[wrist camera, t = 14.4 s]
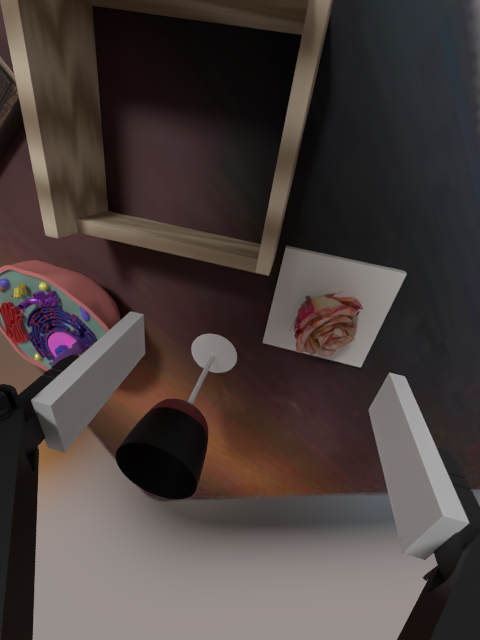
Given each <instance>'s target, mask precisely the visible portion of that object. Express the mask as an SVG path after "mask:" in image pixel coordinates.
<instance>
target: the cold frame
mask: <svg viewBox="0 0 480 640" xmlns="http://www.w3.org/2000/svg"><path fill="white" fill-rule="evenodd" d="M0 2H1V7H2V12H3V18H4V23H5V28H6V33H7V38H8V43H9V49H10V54H11V59H12V64H13V69H14V74H15V80H16V85H17V90H18V95H19V100H20V105H21V111H22V116H23V121H24V126H25V131H26V136H27V142H28V147H29V152H30V157H31V162H32V167H33V173H34V178H35V183H36V188H37V193H38V199H39V204H40V209H41V214H42V219H43V224H44V230H45V235H46V236H50V237H54V238H62V237H65V236H68V235H71V234H75V233H83V234H87V235H91V236H96V237H100V238H105V239H109V240H113V241H118V242H122V243H127V244H131V245H135V246H140V247H144V248H149V249H153V250H157V251H162V252H166V253H171V254H175V255H179V256H184V257H188V258H193V259H197V260H201V261H206V262H210V263H215V264H219V265H223V266H228V267H232V268H236V269H241V270H245V271H250V272H254V273H258V274H263V275H267V276H269V274H270V271H271V268H272V265H273V262H274V259H275V255H276V251H277V246H278V242H279V238H280V233H281V229H282V224H283V220H284V216H285V211H286V207H287V202H288V198H289V194H290V189H291V185H292V181H293V176H294V172H295V167H296V163H297V159H298V154H299V150H300V145H301V141H302V137H303V132H304V128H305V124H306V119H307V115H308V110H309V106H310V102H311V97H312V93H313V88H314V84H315V80H316V75H317V71H318V66H319V62H320V58H321V53H322V49H323V45H324V40H325V36H326V31H327V27H328V23H329V18H330V13H331V7H332V0H0ZM92 6H98V7H105V8H112V9H120V10H127V11H134V12H141V13H148V14H155V15H163V16H170V17H177V18H184V19H191V20H198V21H206V22H213V23H220V24H227V25H234V26H241V27H249V28H256V29H263V30H270V31H277V32H284V33H292V34H299V35H302V38H301V43H300V48H299V53H298V58H297V63H296V68H295V73H294V78H293V84H292V89H291V94H290V99H289V104H288V109H287V114H286V119H285V124H284V129H283V134H282V139H281V145H280V150H279V155H278V160H277V165H276V170H275V175H274V180H273V185H272V190H271V195H270V201H269V206H268V211H267V216H266V221H265V226H264V231H263V236H262V241H261V244H258V243H253V242H249V241H244V240H239V239H235V238H230V237H225V236H221V235H216V234H212V233H207V232H202V231H198V230H193V229H189V228H184V227H179V226H175V225H170V224H165V223H161V222H156V221H152V220H147V219H142V218H138V217H133V216H129V215H124V214H119V213H115V212H110V211H108V201H107V188H106V175H105V162H104V149H103V136H102V123H101V110H100V98H99V85H98V72H97V59H96V46H95V33H94V20H93V7H92Z"/></svg>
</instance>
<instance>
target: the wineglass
mask: <svg viewBox="0 0 480 640" xmlns="http://www.w3.org/2000/svg"><path fill="white" fill-rule="evenodd" d="M191 351H192V356H193V358H194V360H195V361H196V362H197V364H198V365H199V366H201V367H202V368H203V371H202V373H201V375H200V377H199V379H198V381H197V383H196V385H195V387H194V389H193V391H192V393H191V395H190V397H189V399H188V401H184V400H181V399H166V400H163V401H161V402H159V403H158V404H156V405H155V406H154V407H153V408H152V409H151V410H150V411H149V412H148V413H147V414H146V415H145V416H144V417H143V418H142V419H141V420H140V421H139V422H138V423H137V424H136V426H135V427H134V428H133V429H132V431H131V432H130V433H129V435H128V436H127V437H126V438H125V440H124V441H123V443H122V444H121V446H120V447H119V448H118V450H117V452H116V461H117V464H118V466H119V468H120V469H121V471H122V472H123V473H124V475H125V476H126V477H127V478H129V480H131V481H132V482H133V483H134V484H136V485H137V486H139V487H140V488H142V489H144V490H146V491H148V492H150V493H152V494H155V495H157V496H160V497H164V498H169V499H184V498H188V497H190V496H192V495H193V494H194V493H195V491H196V488H197V485H198V482H199V479H200V475H201V471H202V467H203V464H204V460H205V455H206V450H207V443H208V426H207V422H206V420H205V418H204V416H203V415H202V413H201V412H200V411H199V410H198V409H197V408H196V407H195V406H194V405H193V402H194V400H195V398H196V396H197V394H198V392H199V390H200V388H201V386H202V384H203V381H204V379H205V377H206V375H207V373H208V371H210V372H215V373H222V372H226V371H229V370H231V369H232V368H233V367H234V366H235V364H236V361H237V353H236V350H235V347H234V346H233V345H232V344H231V342H230V341H228V340H227V339H226V338H224V337H222V336H220V335H217V334H203V335H201V336H199V337H197V338H196V339H195V340H194V342H193V344H192V347H191Z"/></svg>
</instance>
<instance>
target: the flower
mask: <svg viewBox="0 0 480 640" xmlns="http://www.w3.org/2000/svg"><path fill="white" fill-rule="evenodd" d="M339 293H341V292H339ZM335 294H338V293H331V294H326V295H323V296H320V297H316V298H314V299H311V297H310V296H305V298H306V301H305V302H304V303H303V304H300V305H302V306H301V307H300V308H299V310H298V314H297V317H296V318H295V320H294V322H293V324H294V323H295V325H294V332H295V331H296V332H295V335H294V337H295V339H296V340H297V341H296V350H297V353H301V352H309V354H310V355H313V354H315V353H318V354H319V355H321V356H324V357H327V356H332V355H334V353H335V352H336V350H337V349H340V348H341V347H344V346H345V345H347V344H349V343H350V342H351V341H353V340H354V339H355V338H354V336H355V334H356V332H357V317H358V314H359V313H360V311H358V310H359V309H362V310H363V307H362V305H361V304H360V302H359V301H358V300H357V299H356V298H353V297H342V298H338V297H334V295H335ZM356 311H358V312H357V313H356ZM355 314H356V315H355ZM295 321H296V322H295ZM292 326H293V325H292ZM291 328H292V327H291ZM290 331H291V329H290ZM288 332H289V331H288Z"/></svg>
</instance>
